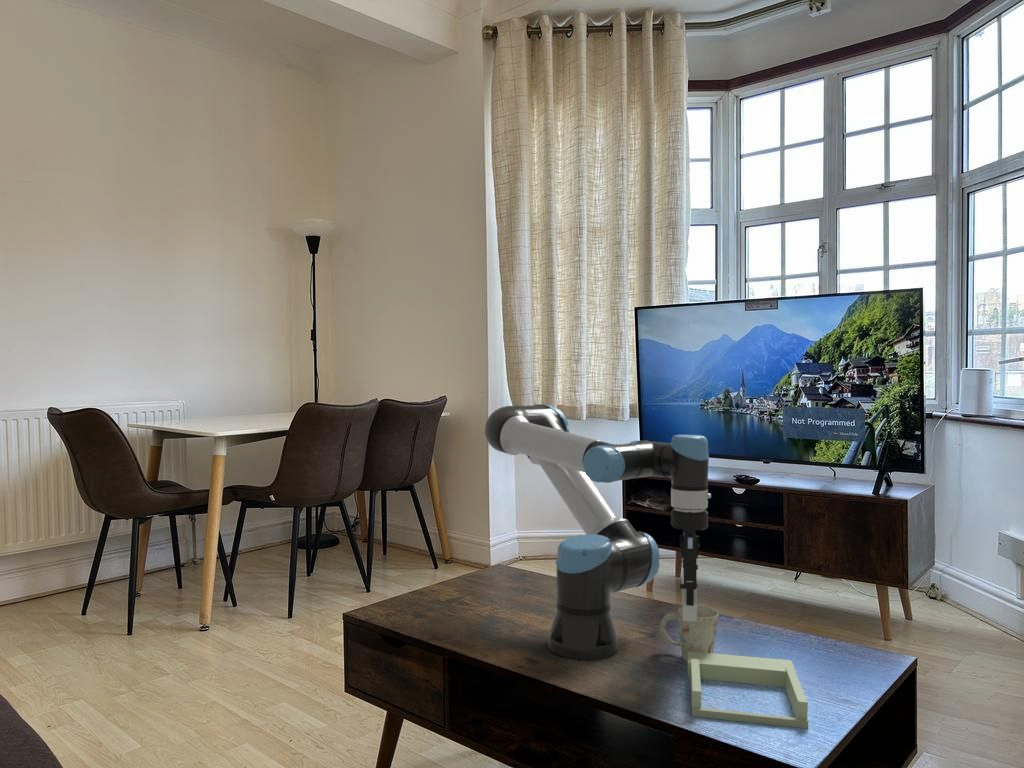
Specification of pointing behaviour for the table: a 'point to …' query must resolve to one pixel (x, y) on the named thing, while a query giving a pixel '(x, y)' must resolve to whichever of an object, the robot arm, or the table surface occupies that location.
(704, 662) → the pale green rectangular frame
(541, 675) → the table surface
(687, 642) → the mug
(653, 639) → the table surface
